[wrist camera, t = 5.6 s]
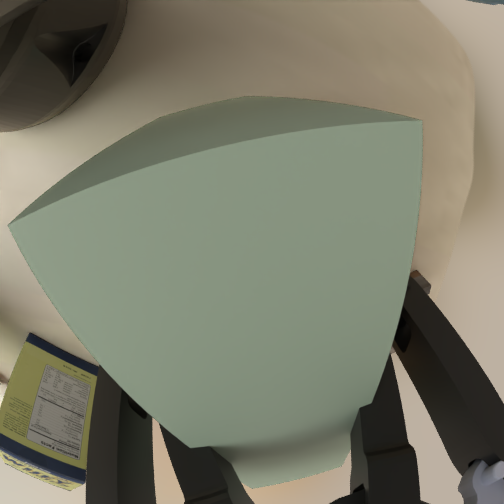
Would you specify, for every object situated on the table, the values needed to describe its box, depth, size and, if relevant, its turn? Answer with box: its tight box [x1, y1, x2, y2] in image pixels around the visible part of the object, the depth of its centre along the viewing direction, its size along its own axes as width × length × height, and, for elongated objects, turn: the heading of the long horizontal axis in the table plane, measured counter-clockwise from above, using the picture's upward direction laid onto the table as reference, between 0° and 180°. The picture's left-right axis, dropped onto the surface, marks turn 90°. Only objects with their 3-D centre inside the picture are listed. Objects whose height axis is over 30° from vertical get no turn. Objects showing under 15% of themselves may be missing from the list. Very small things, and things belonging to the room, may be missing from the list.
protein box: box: [0, 333, 99, 491], centre depth 22 cm, size 10×16×16 cm
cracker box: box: [8, 96, 423, 489], centre depth 13 cm, size 16×5×14 cm, turn 11°
